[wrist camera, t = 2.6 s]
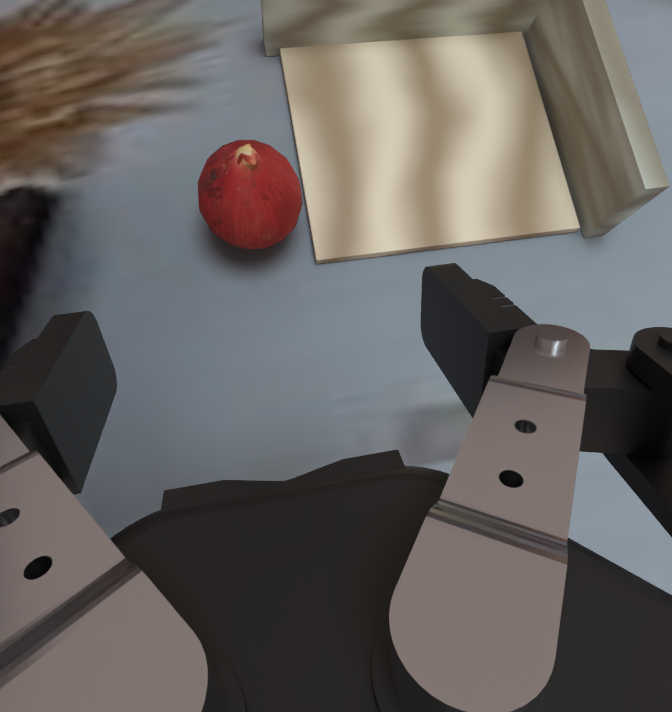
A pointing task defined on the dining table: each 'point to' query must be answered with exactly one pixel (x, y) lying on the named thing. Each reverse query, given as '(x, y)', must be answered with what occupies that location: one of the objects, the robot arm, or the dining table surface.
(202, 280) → the dining table surface
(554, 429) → the robot arm
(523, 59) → the tray
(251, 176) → the pomegranate
